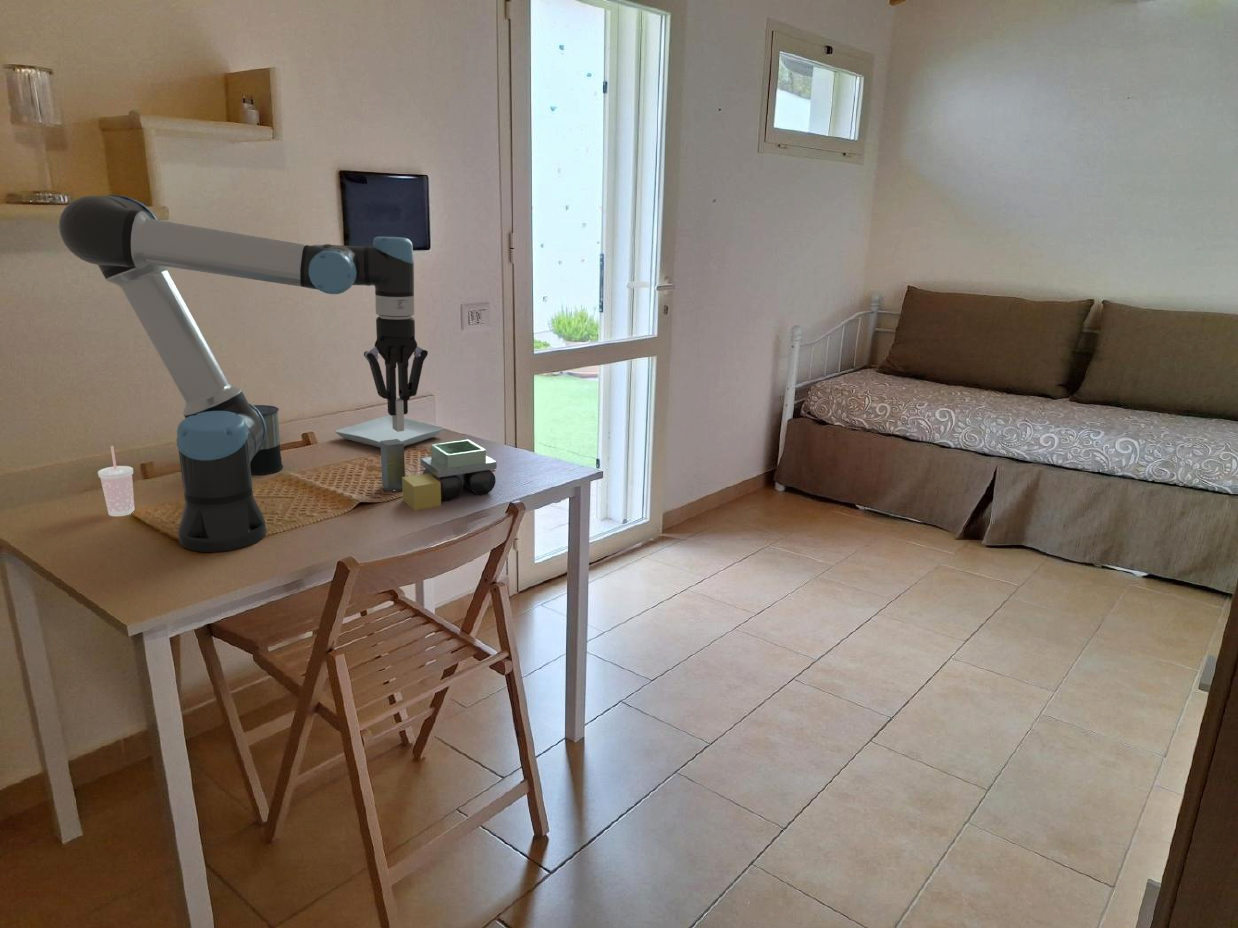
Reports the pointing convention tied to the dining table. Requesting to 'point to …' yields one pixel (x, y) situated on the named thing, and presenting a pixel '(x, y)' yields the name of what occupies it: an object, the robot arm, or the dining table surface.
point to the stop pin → (392, 464)
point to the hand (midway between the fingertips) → (398, 429)
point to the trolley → (460, 468)
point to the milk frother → (268, 444)
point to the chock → (421, 491)
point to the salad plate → (389, 431)
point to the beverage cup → (118, 488)
